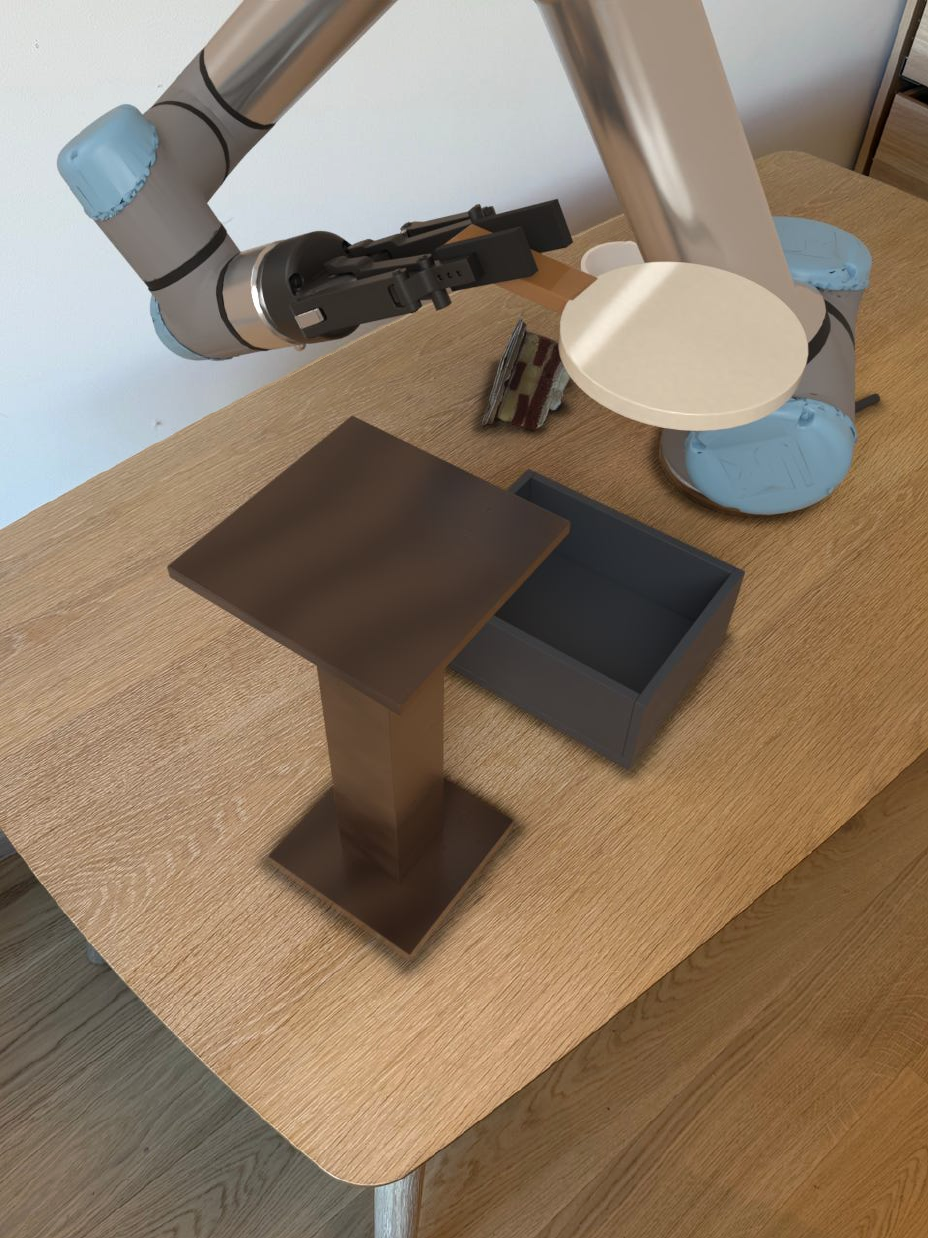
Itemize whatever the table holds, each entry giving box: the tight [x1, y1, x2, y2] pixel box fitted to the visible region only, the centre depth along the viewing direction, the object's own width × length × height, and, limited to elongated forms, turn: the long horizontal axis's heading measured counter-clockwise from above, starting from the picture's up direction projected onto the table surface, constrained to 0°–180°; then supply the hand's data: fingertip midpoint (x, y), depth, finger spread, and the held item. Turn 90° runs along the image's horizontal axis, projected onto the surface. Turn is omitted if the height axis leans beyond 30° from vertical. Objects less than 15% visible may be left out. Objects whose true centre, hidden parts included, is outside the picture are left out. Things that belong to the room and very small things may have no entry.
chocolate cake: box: [481, 309, 571, 431], centre depth 108 cm, size 10×7×12 cm
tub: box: [446, 468, 746, 771], centre depth 85 cm, size 20×16×8 cm
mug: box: [580, 240, 644, 277], centre depth 110 cm, size 11×9×10 cm
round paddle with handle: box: [444, 224, 808, 431], centre depth 64 cm, size 23×14×1 cm, turn 53°
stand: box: [166, 415, 570, 963], centre depth 65 cm, size 14×14×30 cm
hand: (544, 237), depth 64 cm, fingers closed on round paddle with handle, 3 cm apart
